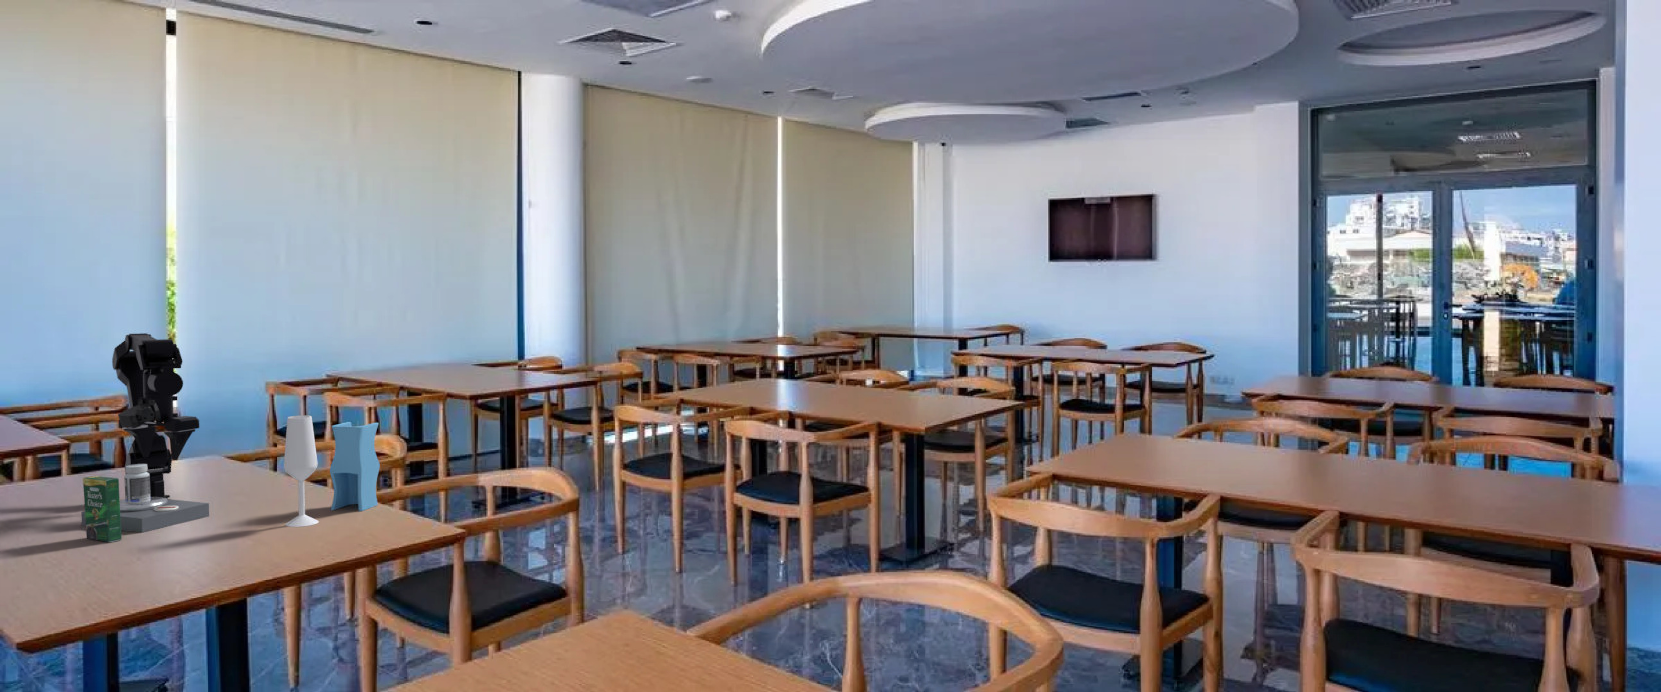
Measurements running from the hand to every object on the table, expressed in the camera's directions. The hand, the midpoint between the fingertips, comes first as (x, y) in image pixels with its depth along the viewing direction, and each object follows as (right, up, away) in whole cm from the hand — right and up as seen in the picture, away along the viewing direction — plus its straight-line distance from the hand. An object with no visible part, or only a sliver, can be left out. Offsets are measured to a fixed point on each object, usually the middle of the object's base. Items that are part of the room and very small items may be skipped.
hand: (160, 458), depth 236 cm
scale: (+4, -13, -11) cm, 18 cm away
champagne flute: (+40, -13, -12) cm, 44 cm away
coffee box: (+6, -14, -27) cm, 31 cm away
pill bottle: (+2, -9, -11) cm, 14 cm away
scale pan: (+2, -10, -11) cm, 15 cm away
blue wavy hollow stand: (+44, -12, +4) cm, 46 cm away
